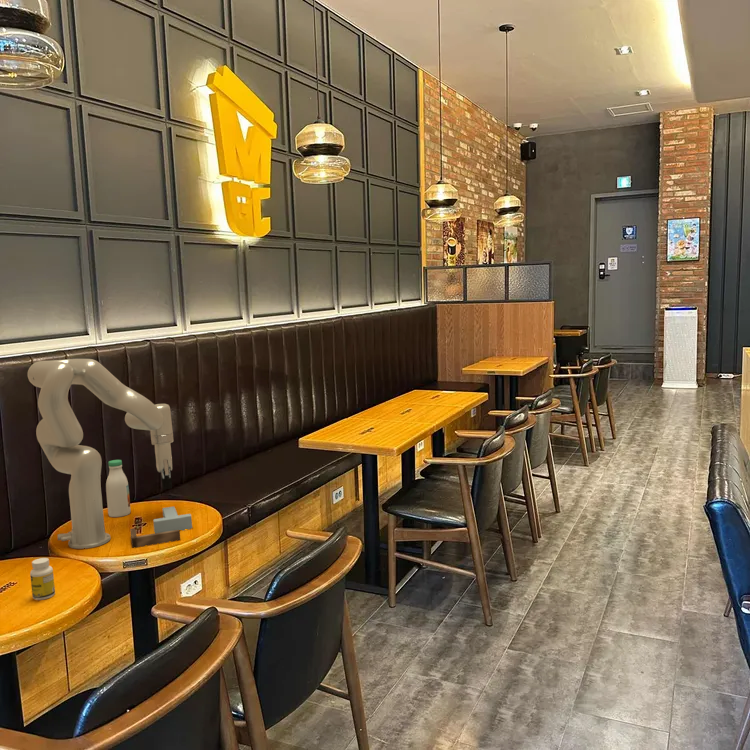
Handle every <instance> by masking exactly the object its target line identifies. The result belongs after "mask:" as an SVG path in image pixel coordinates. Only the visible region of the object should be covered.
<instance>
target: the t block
mask: <svg viewBox="0 0 750 750" xmlns="http://www.w3.org/2000/svg"><path fill="white" fill-rule="evenodd" d="M162 516H163V517H160V518H154V519H153V531H154V532H155V533H161V532H167V531H173V530H182V531H186V530H185V529H188V530H192V529H193V521H192V514H191V513H186V514H179V515H178V512H177V510H176V508H175V506H167V507H163V508H162ZM191 528H192V529H191ZM154 532H153V533H154ZM155 533H154V534H155Z"/></svg>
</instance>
